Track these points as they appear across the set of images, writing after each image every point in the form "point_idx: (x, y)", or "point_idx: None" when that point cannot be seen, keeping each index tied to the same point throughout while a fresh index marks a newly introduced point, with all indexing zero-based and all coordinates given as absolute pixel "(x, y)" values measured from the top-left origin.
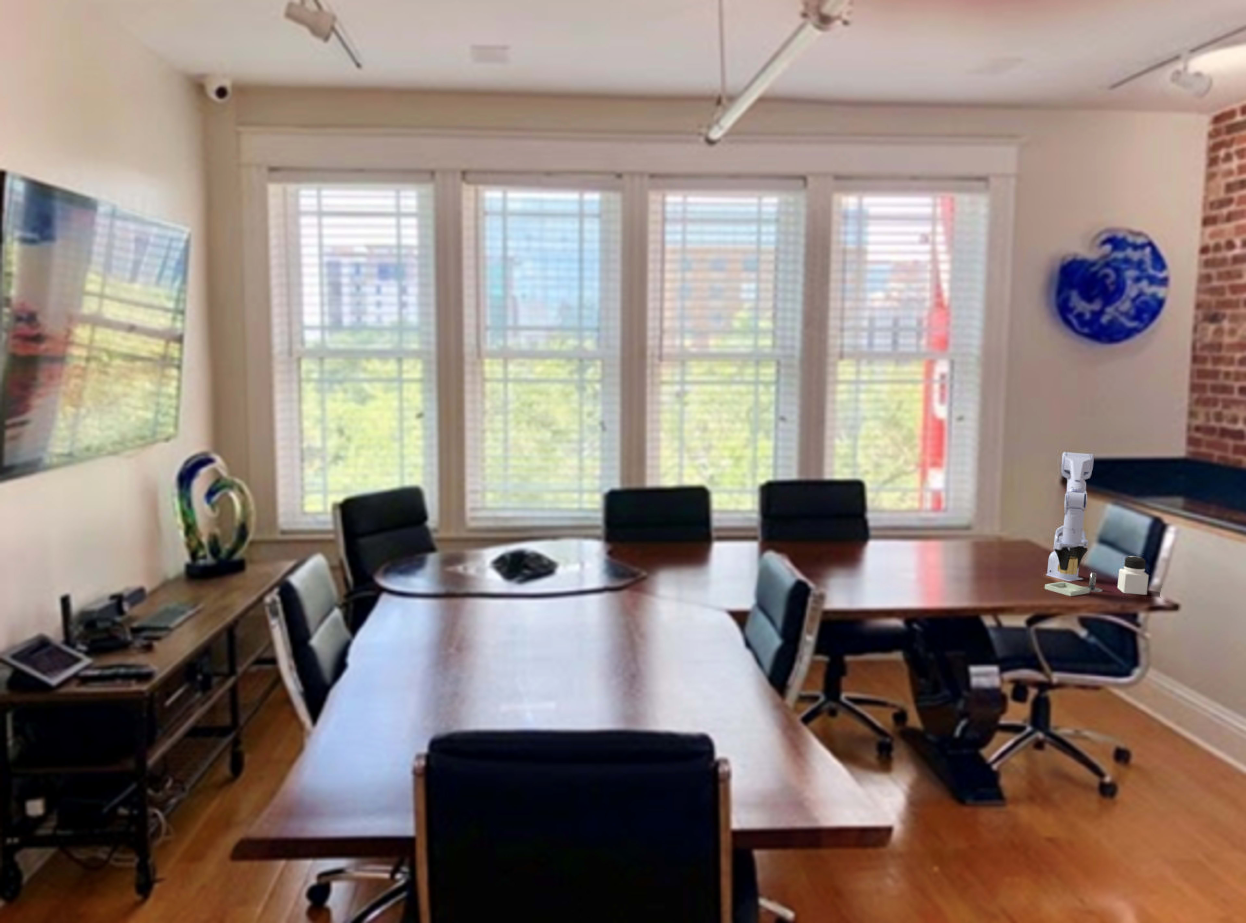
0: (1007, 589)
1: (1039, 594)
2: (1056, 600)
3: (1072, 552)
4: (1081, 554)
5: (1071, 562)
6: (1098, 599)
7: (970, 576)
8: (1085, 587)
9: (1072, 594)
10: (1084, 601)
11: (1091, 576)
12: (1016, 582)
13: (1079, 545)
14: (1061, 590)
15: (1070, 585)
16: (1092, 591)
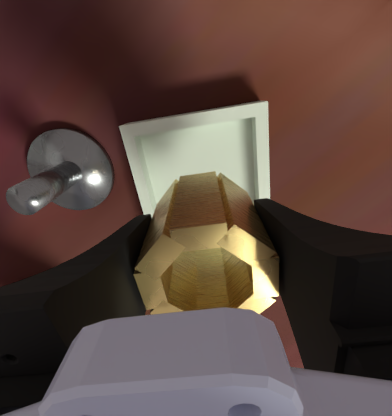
0: None
1: (338, 180)
2: (364, 79)
3: (335, 253)
4: (97, 266)
5: (241, 216)
6: (141, 34)
7: None
8: (82, 197)
9: (247, 103)
10: (245, 20)
11: (47, 190)
12: (269, 308)
13: (278, 351)
14: (267, 153)
15: (154, 210)
16: (91, 141)
